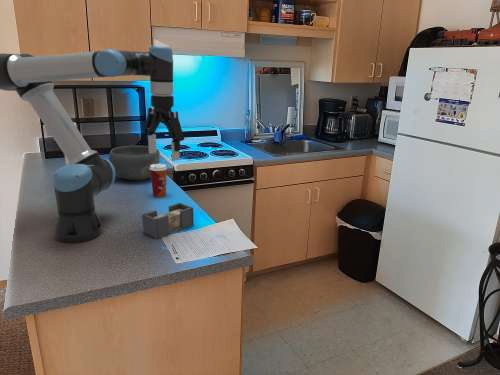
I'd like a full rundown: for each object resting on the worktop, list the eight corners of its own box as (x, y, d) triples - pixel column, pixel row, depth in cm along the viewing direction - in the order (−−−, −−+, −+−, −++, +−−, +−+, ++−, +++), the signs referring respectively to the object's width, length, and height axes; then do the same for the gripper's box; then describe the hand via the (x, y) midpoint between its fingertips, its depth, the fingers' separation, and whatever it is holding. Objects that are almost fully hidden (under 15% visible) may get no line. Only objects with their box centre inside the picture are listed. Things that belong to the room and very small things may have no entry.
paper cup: (164, 199, 169) (162, 168, 165) (147, 197, 171) (146, 166, 166) (171, 193, 176) (170, 164, 172) (155, 191, 178) (154, 162, 174)
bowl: (168, 180, 195) (167, 151, 191) (121, 188, 181) (118, 157, 177) (149, 169, 214) (147, 143, 209) (104, 175, 200) (102, 147, 195)
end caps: (156, 239, 131) (155, 220, 129) (143, 232, 135) (142, 214, 133) (193, 224, 143) (193, 207, 141) (180, 219, 148) (180, 202, 146)
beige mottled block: (158, 234, 133) (157, 221, 132) (151, 231, 136) (150, 218, 134) (187, 224, 143) (186, 211, 141) (180, 221, 145) (179, 208, 144)
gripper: (194, 98, 124) (194, 161, 130) (150, 91, 139) (152, 148, 146) (176, 98, 118) (177, 165, 125) (132, 92, 134) (134, 151, 140)
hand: (163, 156), depth 135 cm, fingers open, 13 cm apart
